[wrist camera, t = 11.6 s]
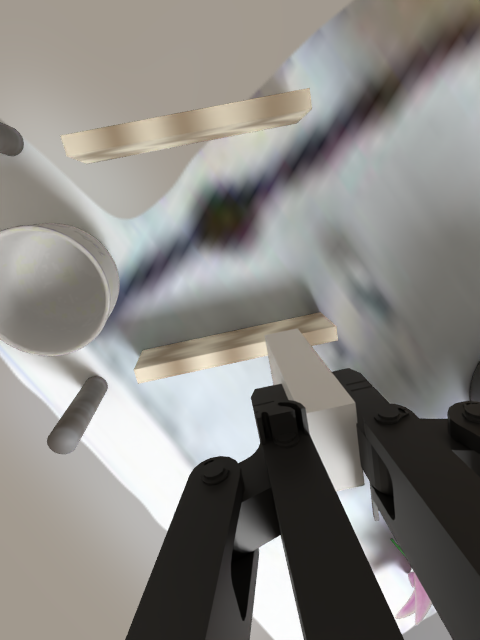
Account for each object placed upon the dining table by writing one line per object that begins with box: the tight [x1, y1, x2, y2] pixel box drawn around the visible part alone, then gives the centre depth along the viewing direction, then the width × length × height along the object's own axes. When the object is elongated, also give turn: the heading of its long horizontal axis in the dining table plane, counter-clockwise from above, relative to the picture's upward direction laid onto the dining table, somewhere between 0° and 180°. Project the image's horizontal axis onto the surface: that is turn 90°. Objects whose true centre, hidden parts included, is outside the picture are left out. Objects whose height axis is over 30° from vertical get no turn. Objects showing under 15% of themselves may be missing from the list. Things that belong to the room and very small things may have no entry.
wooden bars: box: [0, 88, 338, 454], centre depth 31 cm, size 27×27×10 cm
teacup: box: [0, 223, 119, 356], centre depth 32 cm, size 14×11×8 cm
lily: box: [391, 539, 432, 626], centre depth 48 cm, size 12×12×10 cm
